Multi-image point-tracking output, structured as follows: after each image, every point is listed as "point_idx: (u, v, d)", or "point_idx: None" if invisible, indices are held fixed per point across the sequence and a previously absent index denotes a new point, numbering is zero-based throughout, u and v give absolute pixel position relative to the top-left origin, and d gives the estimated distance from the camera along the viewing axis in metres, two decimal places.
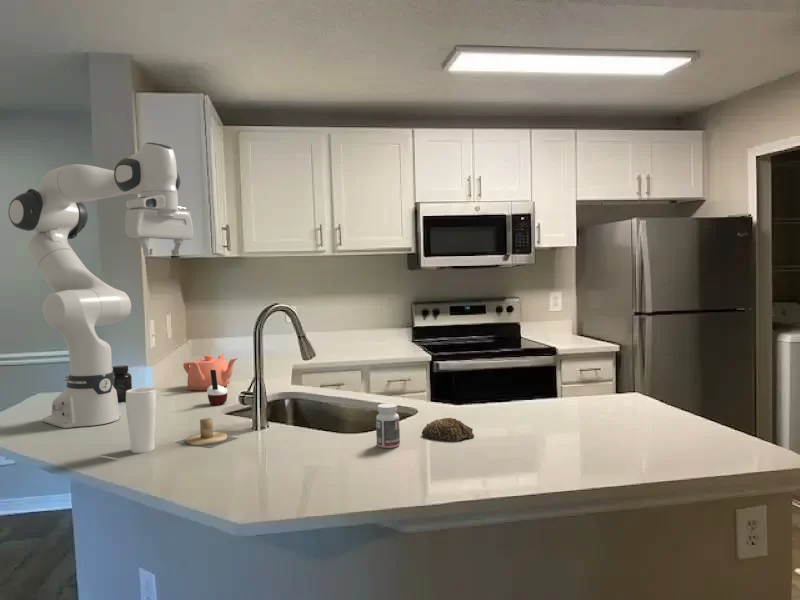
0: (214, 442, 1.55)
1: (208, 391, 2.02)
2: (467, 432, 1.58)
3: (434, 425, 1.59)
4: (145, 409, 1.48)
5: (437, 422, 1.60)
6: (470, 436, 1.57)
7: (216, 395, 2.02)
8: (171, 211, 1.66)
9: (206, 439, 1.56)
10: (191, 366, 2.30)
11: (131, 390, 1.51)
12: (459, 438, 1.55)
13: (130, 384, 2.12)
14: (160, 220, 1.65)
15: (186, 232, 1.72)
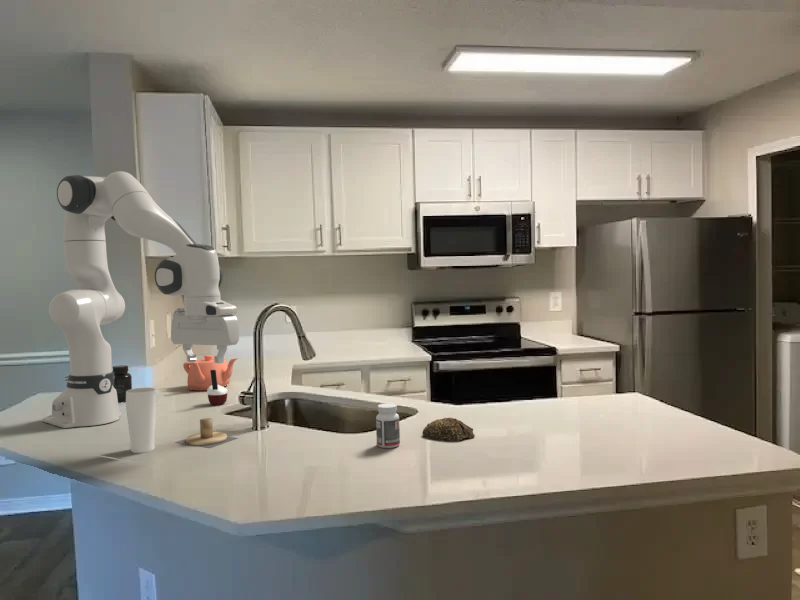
0: (214, 442, 1.54)
1: (208, 391, 2.02)
2: (467, 432, 1.58)
3: (435, 425, 1.59)
4: (145, 409, 1.48)
5: (438, 422, 1.60)
6: (470, 436, 1.57)
7: (216, 395, 2.02)
8: None
9: (206, 439, 1.56)
10: (191, 366, 2.30)
11: (131, 390, 1.51)
12: (459, 438, 1.55)
13: (130, 384, 2.12)
14: None
15: None
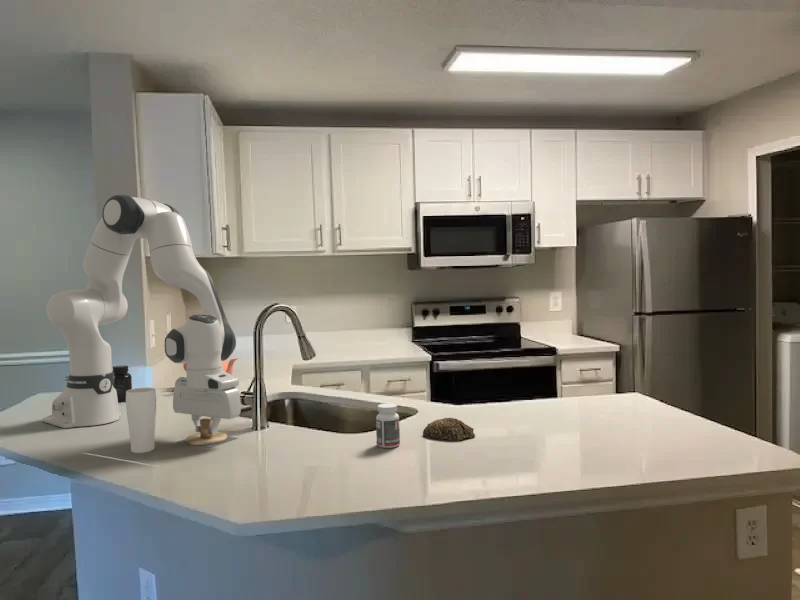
0: (213, 442, 1.54)
1: None
2: (468, 432, 1.58)
3: (435, 425, 1.59)
4: (145, 409, 1.48)
5: (438, 422, 1.60)
6: (471, 436, 1.58)
7: None
8: None
9: (206, 439, 1.56)
10: None
11: (131, 390, 1.51)
12: (460, 438, 1.55)
13: (130, 384, 2.12)
14: None
15: None
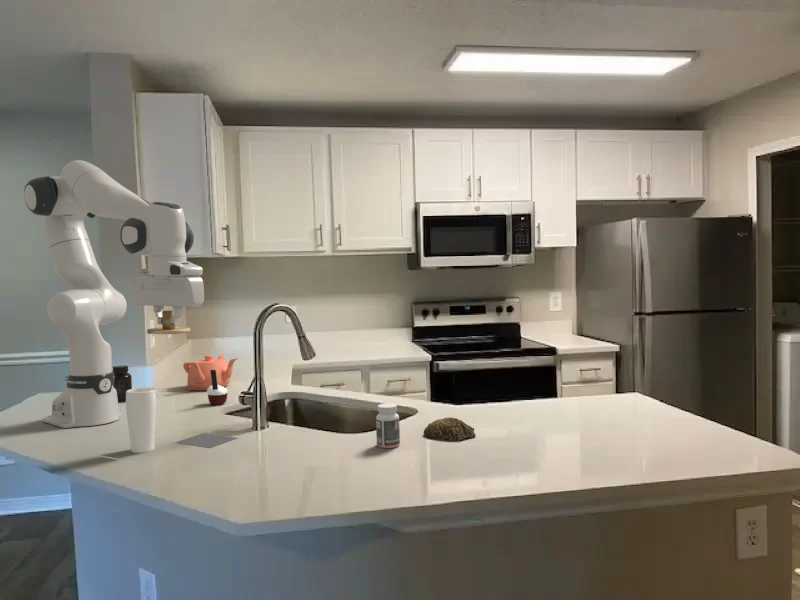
0: (176, 331, 1.49)
1: (208, 391, 2.02)
2: (469, 432, 1.58)
3: (436, 425, 1.59)
4: (145, 409, 1.48)
5: (439, 422, 1.60)
6: (472, 436, 1.58)
7: (216, 395, 2.02)
8: None
9: (168, 329, 1.51)
10: (191, 366, 2.30)
11: (131, 390, 1.51)
12: (460, 438, 1.55)
13: (130, 384, 2.12)
14: None
15: None
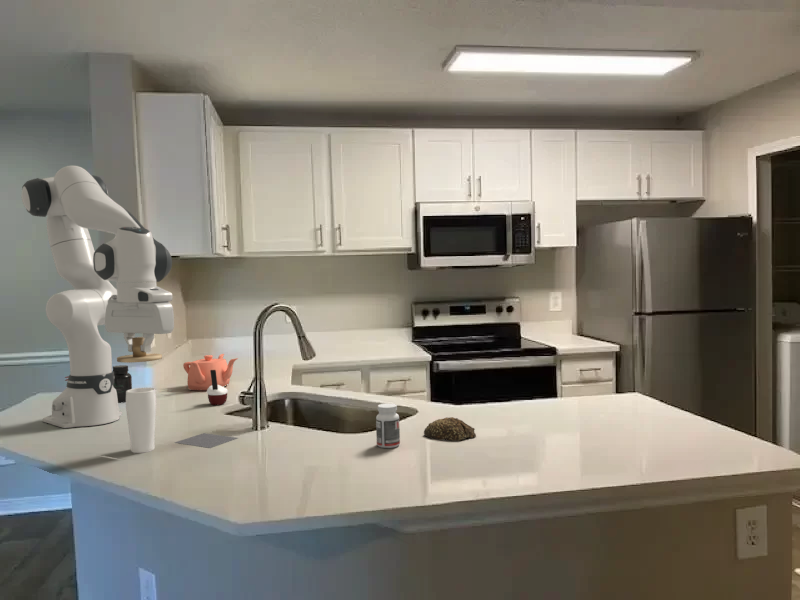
0: (145, 359, 1.46)
1: (208, 391, 2.02)
2: (469, 431, 1.58)
3: (436, 424, 1.59)
4: (145, 409, 1.48)
5: (439, 421, 1.60)
6: (472, 435, 1.58)
7: (216, 395, 2.02)
8: None
9: (138, 357, 1.47)
10: (191, 366, 2.30)
11: (131, 390, 1.51)
12: (460, 438, 1.55)
13: (130, 384, 2.12)
14: None
15: None
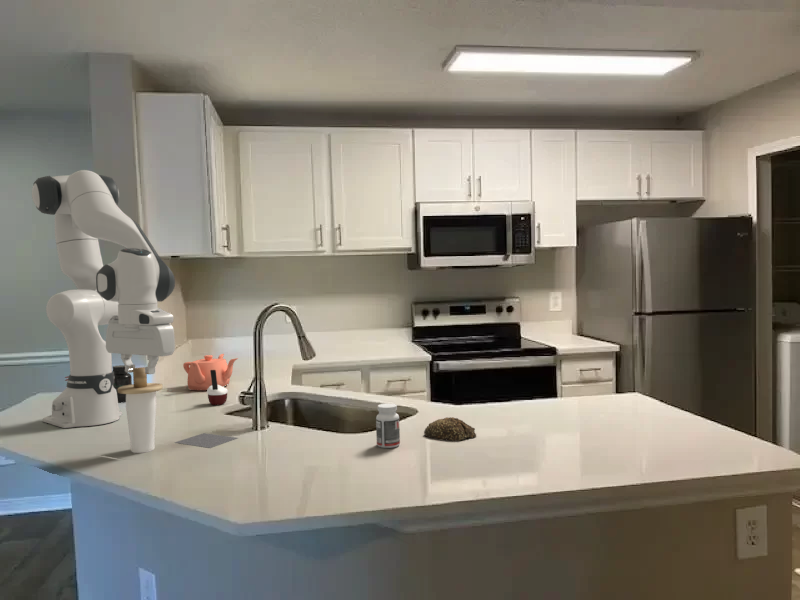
0: (146, 391, 1.46)
1: (208, 391, 2.02)
2: (469, 432, 1.58)
3: (436, 424, 1.59)
4: (145, 409, 1.48)
5: (439, 421, 1.60)
6: (472, 435, 1.58)
7: (216, 395, 2.02)
8: None
9: (138, 388, 1.48)
10: (191, 366, 2.30)
11: None
12: (461, 438, 1.55)
13: (130, 384, 2.12)
14: None
15: None
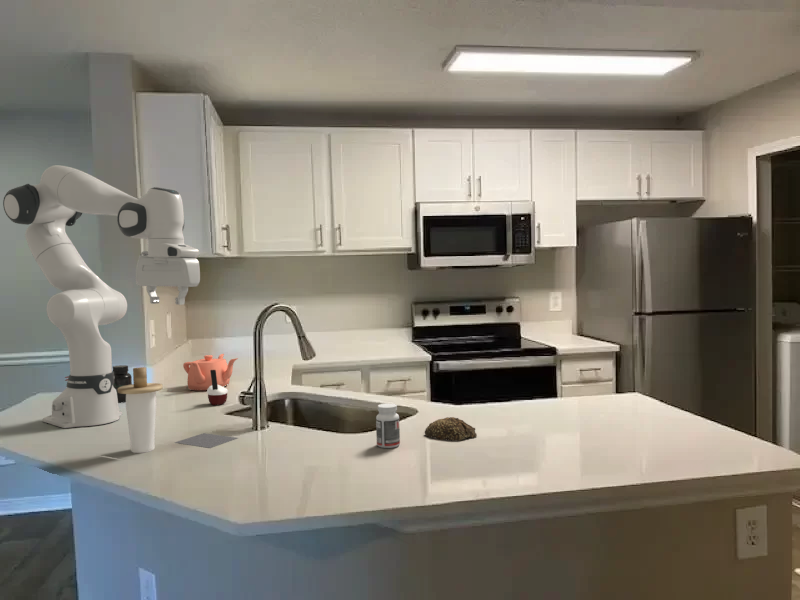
0: (146, 391, 1.46)
1: (208, 391, 2.02)
2: (470, 431, 1.58)
3: (437, 424, 1.59)
4: (145, 409, 1.48)
5: (440, 421, 1.60)
6: (473, 435, 1.58)
7: (216, 395, 2.02)
8: None
9: (138, 388, 1.48)
10: (191, 366, 2.30)
11: None
12: (461, 438, 1.56)
13: (130, 384, 2.12)
14: None
15: None
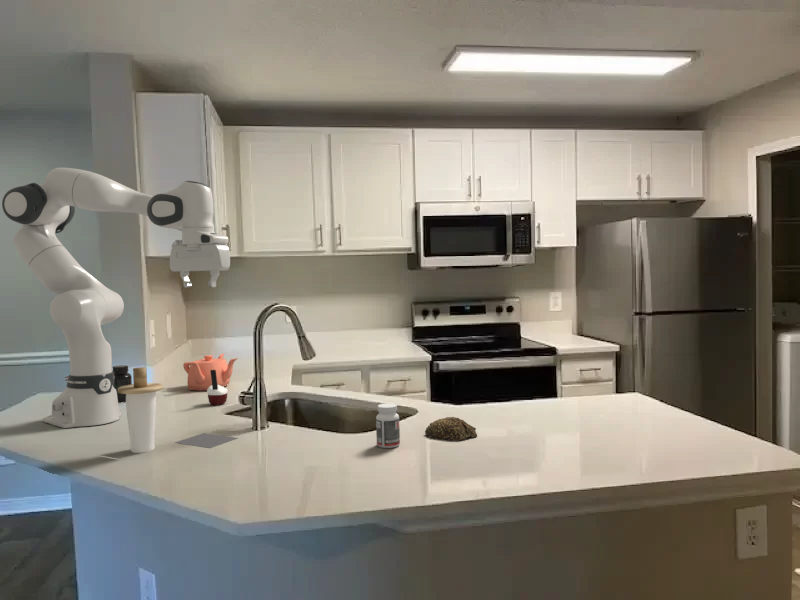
0: (146, 391, 1.46)
1: (208, 391, 2.02)
2: (470, 431, 1.58)
3: (437, 424, 1.59)
4: (145, 409, 1.48)
5: (440, 421, 1.60)
6: (473, 435, 1.58)
7: (216, 395, 2.02)
8: None
9: (138, 388, 1.48)
10: (191, 366, 2.30)
11: None
12: (462, 437, 1.56)
13: (130, 384, 2.12)
14: None
15: None
